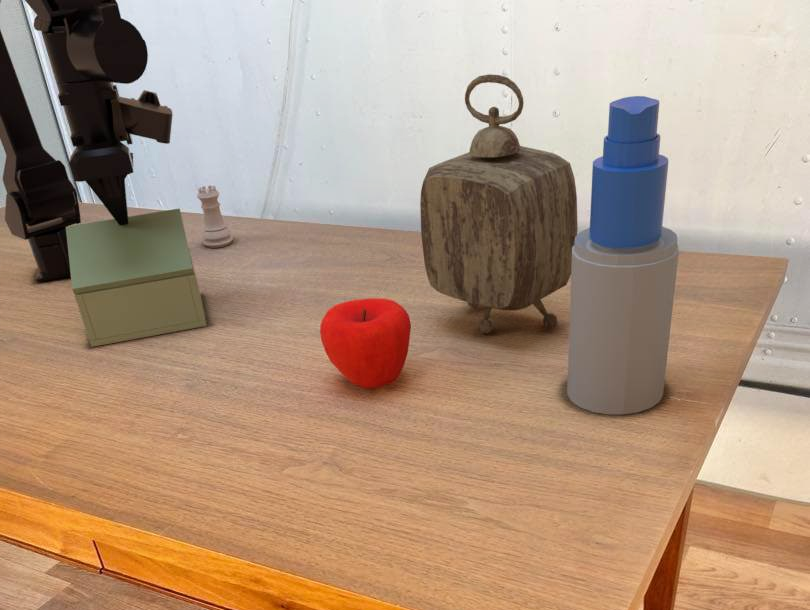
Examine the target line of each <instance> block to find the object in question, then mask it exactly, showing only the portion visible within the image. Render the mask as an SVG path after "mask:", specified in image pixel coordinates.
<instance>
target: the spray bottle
mask: <svg viewBox="0 0 810 610" xmlns="http://www.w3.org/2000/svg"><path fill="white" fill-rule="evenodd" d="M659 112H660V100H659V99H657V98H651V97H648V96H645V95H634V96H627V97H626V96H625V97H621V98H619V99H616V100H613V101H611V102H609V108H608V126H607V135H606V136H604V137H603V146H602V147H603V148H602V156H599V157H597V158H595V159H594V160H593V161H592V169H591V170H592V171H591V190H590V191H591V193H590V216H589V217H590V218H589V227H588V228H585V229H584V230H581V231H579V232H578V233H577V236H576V237H575V245H574V246H573V247H572V265H571V276H570V299H569V304H570V305H569V327H568V328H569V330H568V357H567V358H568V359H567V384H566V385H567V387H566V389H567V390H566V391H567V392H566V395H567V397H568V398H569V400H570V402H571V403H573V404H574V405H576V406H577V407H579V408H581V409H584V410H586V411H589V412H592V413H597V414H604V415H618V416H619V415H620V416H621V415H622V416H623V415H629V414H637V413H641V412H643V411H646V410H648V409H651V408H653V407H654V406H656V405H657V404H659V403H660V401H661V400H662V399H663V396H664V391H665V390H664V389H665V381H666V372H667V371H666V370H667V362H668V353H669V344H670V335H671V326H672V317H673V309H674V301H675V291H676V281H677V274H678V273H677V272H678V264H679V263H678V262H679V255H680V254H679V253H680V248H679V244H678V241H679V240H678V235H677V233H676V232H675V231H673V230H672V229H670V228H668V227H665V226H663V222H664V214H665V213H664V212H665V203H666V192H667V191H666V190H667V180H668V171H669V158H668V157H666V156H665V155H663V154H660V146H661V134H660V133H658V124H659Z"/></svg>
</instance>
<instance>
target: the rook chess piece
mask: <svg viewBox="0 0 810 610" xmlns="http://www.w3.org/2000/svg"><path fill="white" fill-rule="evenodd" d="M197 190H198V192H197V195H196V197H197V199H198V200H200V202H201V206H200V208H201V209H202V211H203V217H204V227H203V231H202V238H203V239H204V240H203V244H204V245H205V247H207V248H210V249H219V248H223V247H226V246H228V245H230V244H231V243H232V242H233V240H234V238H233V236H231V235H232V231H231V229H230V228H229V227H228V225H227V223H225V220H224V217H223V215H222V212H221V207H220V206H221V203H220V202H219V201H218V199H219V196H220V192H219V190H217V188H216V185H207V187H206V186H205V185H204V186H203V185H202V186H201V187H198V188H197Z"/></svg>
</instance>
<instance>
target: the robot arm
mask: <svg viewBox="0 0 810 610" xmlns="http://www.w3.org/2000/svg"><path fill="white" fill-rule="evenodd" d="M24 1H25V2H26V4H27V6H29V7H30V9H32V11H33V12H34V14H36V16H35V18H34V19H33V28H34V30H36V31H38V32H41V37H42V40H43V43H44V45H45V46H44V47H45V49H46V50H45V51H46V53H47V56H48V60H49V63H50V66H51V69H52V70H51V71H52V73H53V76H54V80H55V83H56V87H57V89H58V93H57V98H58V100H59V101H58V102H59V104H60V106H61V107H63V110H64V113H65V117H66V120H67V124H68V126H69V130H70V141H71V145H72V147H74V150H73V152H72V153H71V154H70V157H69V162H68V164H69V167H70V171H71V173H72V174H71V175H72V177H73V181H74V182H79V183H82V182H85V183H86V184H87V185H88V186H89V187H90V189H91V190H92V192H93V193H94V195H96V197H97V198H98V199H99V201H100V202H101V203H102V204H103V206H104V207H105V208H106V210H107V211H108V213H109V215H111V216H112V219H115V220H116V222H117V223H118V224H119V225H127V224H128V217H129V213H128V212H129V211H128V200H127V199H128V198H127V189H126V178H127V177H128V176H129V175H130V174H133V173H134V172H135V170H134V153H133V152H130V147H129V146H128V145H133V137H132V135H133V136H137V137H141V138H146V139H151V140H155V141H156V142H157V143H159V144H165V145H169V144H171V135H172V124H173V110H172V109H171V108H170V107H169V106H168V105H161V102H160V99H159V97H158V94H157V92H153V91H150V90H147V89H146V90H145V89H144V90H143V91H142V92H141V93H140V95H139V97H138V98H137V99H136V98H133V97H131V98H128V97H123V96H120V93H119V89H118V85H117V84H121V85H122V84H125V85H129V84H133V83H135V82H136V81H138V80H139V79H140V78H141V77H142V76H143V75H144V73H145V71H146V69H147V66H148V60H149V53H148V46H147V42H146V41H145V39H144V38H143V36H142V34H141V31H139V30H138V29H137V27H136V26H135V25H134V24H133V23H131V22H130V21H128V20H126V19H124V18H122V15H121V12H120V8H119V4H118V2H117V0H24ZM1 2H2V0H0V3H1ZM115 83H116V84H115ZM0 142H1V145H2V147H3V150H4V153H5V162H4V166H3V172H2V173H3V174H2V182H3V185H4V188H5V191H6V195H5V211H4V221H5V223H6V225H7V227H8V229H9V231H10V233H11V235H13V236H15V237H17V238H19V239H22V240H24V241H26V240H27V241H28V243H29V246H30V249H31V252H32V255H33V257H34V261H35V263H36V267H37V270H36V274H35V282H37V283H41V282H46V281H51V280H58V279H64V278H71V272H70V263H69V253H68V244H67V234H66V227H67V226H74V225H80V224H82V220H81V211H80V205H79V197H78V192H77V189H76V188H75V186H74V184H73V183H72V181H71V180H70V179H69V176H68V173H67V169H66V168H67V167H66V166H65V164H64V163H63V162H62V161H61V160H59V159H57V160H56V159H55V158H54V157H53V156H52V155H51V154H50V153H49V152H48V151H47V150H46V149H45V148H44V146H43V144H42V141H41V139H40V136H39V133H38V130H37V127H36V124H35V122H34V118H33V116H32V113H31V111H30V108H29V105H28V103H27V99H26V96H25V95H24V91H23V88H22V86H21V83H20V81H19V77H18V75H17V72H16V70H15V66H14V63H13V60H12V58H11V55H10V52H9V50H8V47H7V45H6V42H5V38H4V36H3V33H2V31H1V29H0ZM123 142H126V144H127V145H126V144H124V143H123Z"/></svg>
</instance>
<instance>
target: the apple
mask: <svg viewBox="0 0 810 610" xmlns="http://www.w3.org/2000/svg"><path fill="white" fill-rule="evenodd" d="M411 330H412V324H411V319H410V316H409V313H408V312H407V310H406V308H404V307H403V306H402V305H401V304H399V303H398V302H397V301H395V300H392V299H387V298H361V299H353V300H347V301H344V302H340V303H338V304H334V305H333V306H332V307H331V308H329V309H328V310H327V311H326V313H325V315H324V316H323V317H322V319H321V322H320V327H319V335H320V341H321V343H322V346H323V348H324V349H323V350H324V351H325V353H326V356H327V358H328V359H329V361H330V362H331V364H332V365H333V366H334V367H335V368H336V369H337V370H338V371H339V372H340V373H341V374H342V376H344V377H345V378H346V379H347V380H348V381H349V382H351V384H354V385H355V386H357V387H360V388H363V389H378V388H382V387H384V386H389V385H391V384H393V383H394V382H395V381H396V380H397V379H398V378H399V377H400V375H401V374H402V370H403V368H404V366H405V364H406V360H407V357H408V352H409V347H410V339H411Z"/></svg>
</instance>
